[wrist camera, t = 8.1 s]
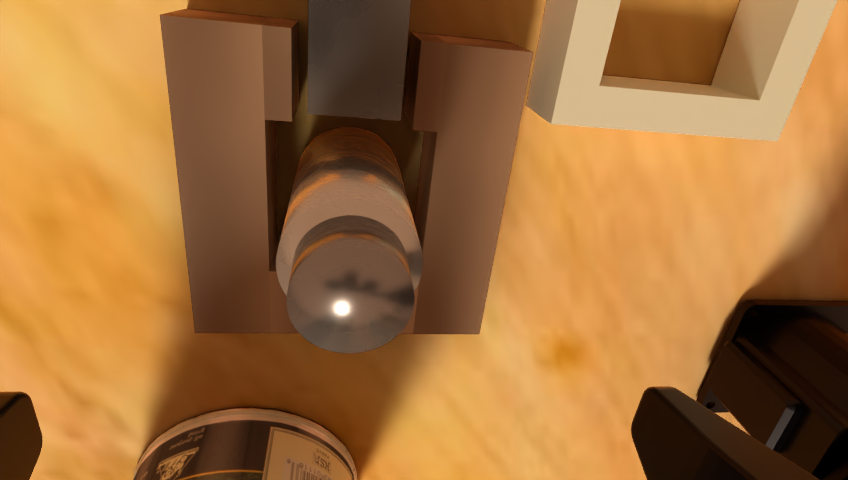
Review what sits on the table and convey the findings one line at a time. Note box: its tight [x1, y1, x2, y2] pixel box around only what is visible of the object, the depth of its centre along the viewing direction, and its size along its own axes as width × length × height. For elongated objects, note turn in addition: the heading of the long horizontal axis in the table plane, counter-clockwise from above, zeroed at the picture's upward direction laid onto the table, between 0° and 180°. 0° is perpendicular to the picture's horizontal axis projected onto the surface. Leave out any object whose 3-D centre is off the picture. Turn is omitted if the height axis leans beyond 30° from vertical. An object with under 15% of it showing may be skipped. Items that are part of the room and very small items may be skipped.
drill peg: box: [276, 127, 423, 353], centre depth 15 cm, size 4×4×8 cm
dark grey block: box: [308, 0, 411, 121], centre depth 14 cm, size 3×5×4 cm, turn 173°
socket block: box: [160, 9, 533, 334], centre depth 17 cm, size 10×10×2 cm
